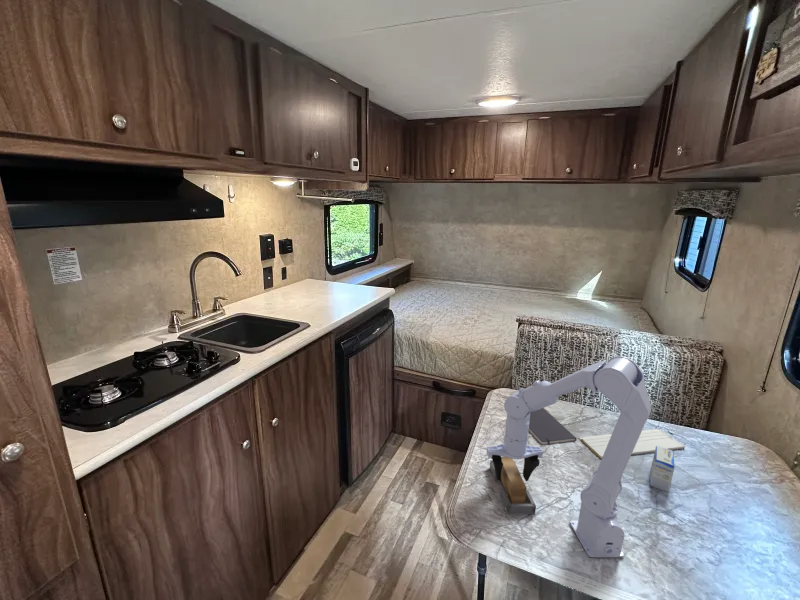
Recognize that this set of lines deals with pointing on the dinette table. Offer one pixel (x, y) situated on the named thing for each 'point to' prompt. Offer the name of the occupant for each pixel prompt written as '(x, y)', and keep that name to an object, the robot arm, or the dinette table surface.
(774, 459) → the dinette table surface
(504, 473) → the brown wooden block
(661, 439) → the baseboard molding
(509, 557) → the dinette table surface
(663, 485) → the medicine box
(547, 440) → the notebook
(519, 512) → the end caps
